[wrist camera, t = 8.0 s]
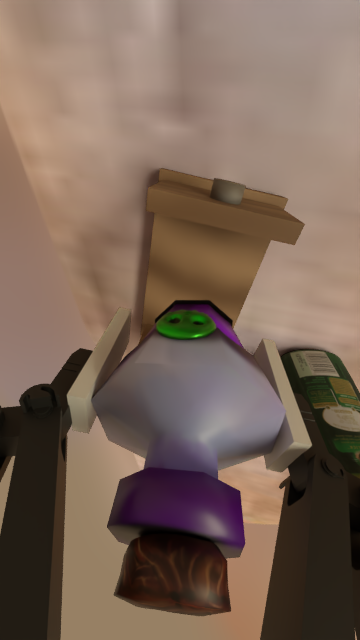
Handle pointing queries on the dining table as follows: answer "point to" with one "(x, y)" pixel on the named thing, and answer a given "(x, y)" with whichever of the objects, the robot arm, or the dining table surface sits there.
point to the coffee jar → (329, 401)
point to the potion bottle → (184, 456)
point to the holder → (209, 241)
